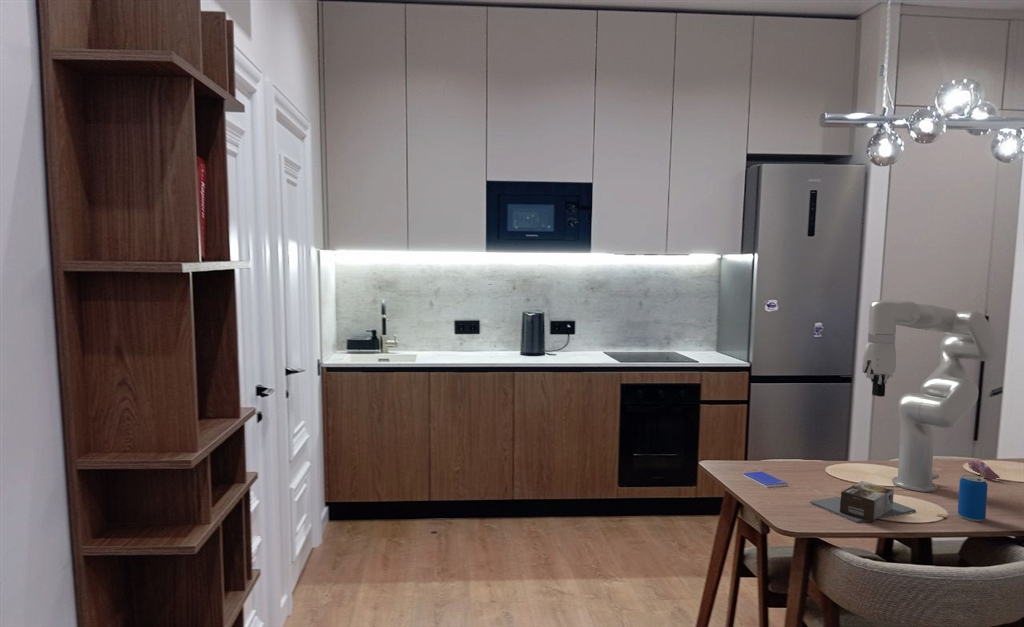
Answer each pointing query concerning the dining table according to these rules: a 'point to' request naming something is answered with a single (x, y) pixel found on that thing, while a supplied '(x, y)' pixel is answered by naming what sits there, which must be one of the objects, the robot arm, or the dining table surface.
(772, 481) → the hard drive
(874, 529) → the dining table surface
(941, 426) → the robot arm
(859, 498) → the coffee box
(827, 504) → the gray mat
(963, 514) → the beverage can
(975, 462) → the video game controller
